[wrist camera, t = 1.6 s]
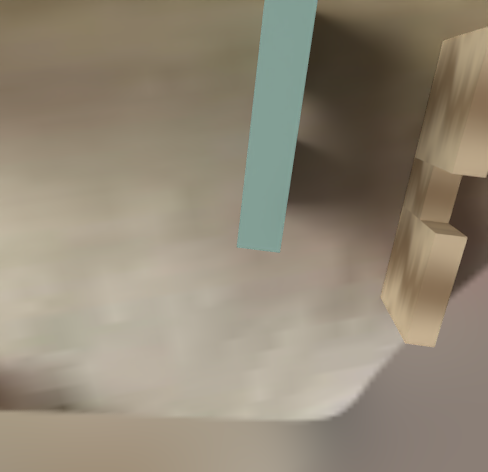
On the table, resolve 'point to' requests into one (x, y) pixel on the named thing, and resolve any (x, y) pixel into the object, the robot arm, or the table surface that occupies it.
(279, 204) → the teal slotted plate
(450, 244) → the birch notched board
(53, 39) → the table surface
